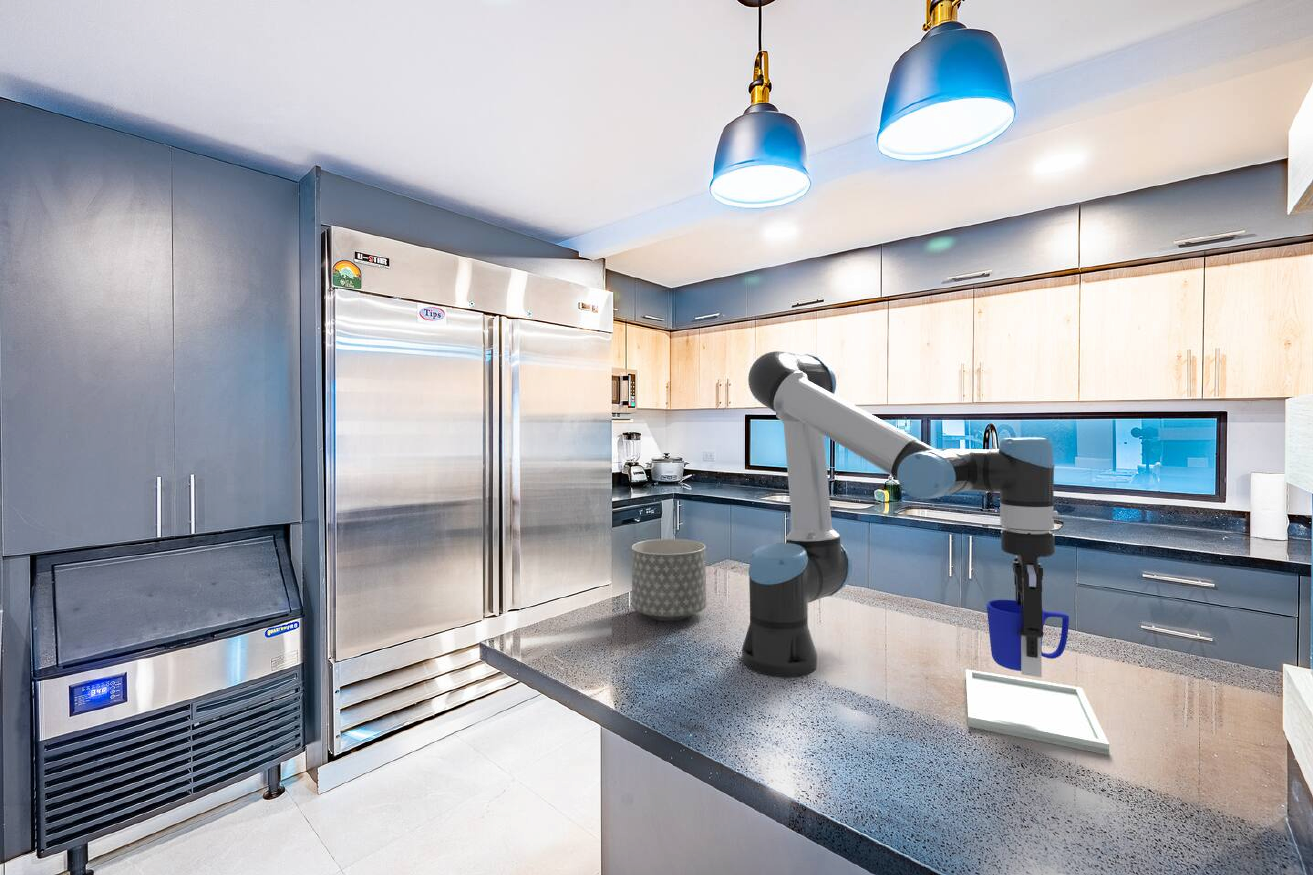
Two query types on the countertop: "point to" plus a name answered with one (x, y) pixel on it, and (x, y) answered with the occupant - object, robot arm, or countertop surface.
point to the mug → (1015, 632)
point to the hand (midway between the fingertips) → (1028, 665)
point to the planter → (669, 578)
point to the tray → (1033, 711)
